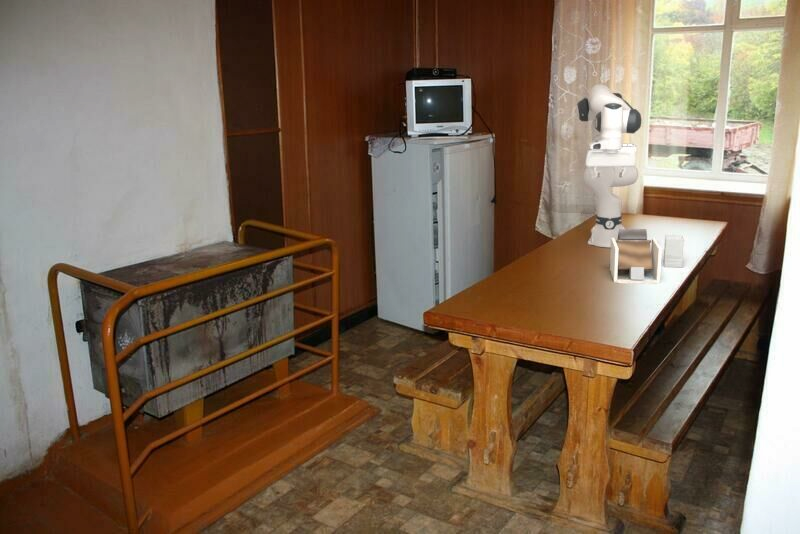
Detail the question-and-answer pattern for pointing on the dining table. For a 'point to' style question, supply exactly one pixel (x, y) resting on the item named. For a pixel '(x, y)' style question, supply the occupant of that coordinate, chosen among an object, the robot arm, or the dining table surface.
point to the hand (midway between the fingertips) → (609, 177)
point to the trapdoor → (634, 249)
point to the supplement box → (673, 250)
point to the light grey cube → (636, 273)
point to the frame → (656, 269)
